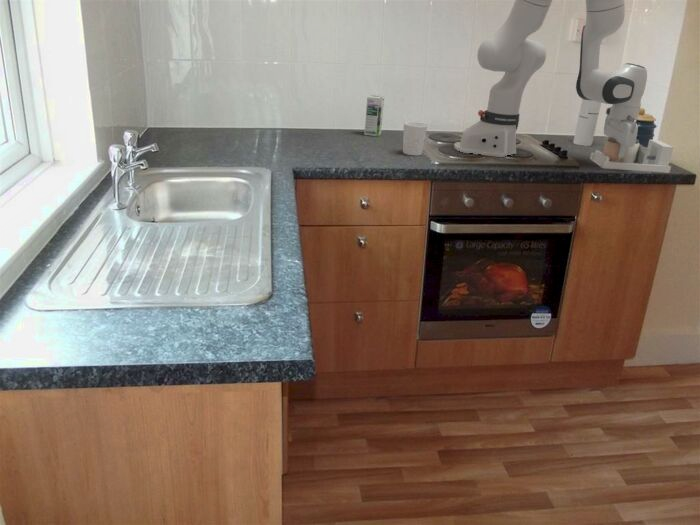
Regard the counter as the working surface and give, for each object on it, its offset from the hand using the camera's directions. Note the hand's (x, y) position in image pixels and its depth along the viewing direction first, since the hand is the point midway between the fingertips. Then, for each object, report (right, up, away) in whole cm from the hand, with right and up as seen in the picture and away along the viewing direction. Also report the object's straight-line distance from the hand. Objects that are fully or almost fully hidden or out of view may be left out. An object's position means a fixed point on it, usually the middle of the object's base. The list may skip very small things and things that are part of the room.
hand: (614, 153), depth 222 cm
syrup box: (-83, +11, +23) cm, 87 cm away
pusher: (+13, -4, +2) cm, 14 cm away
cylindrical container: (+1, +10, +35) cm, 36 cm away
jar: (-1, -3, +1) cm, 4 cm away
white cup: (-71, 0, -2) cm, 71 cm away
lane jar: (+5, -3, +3) cm, 6 cm away
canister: (+15, +3, +22) cm, 27 cm away
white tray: (+6, -4, +2) cm, 8 cm away
